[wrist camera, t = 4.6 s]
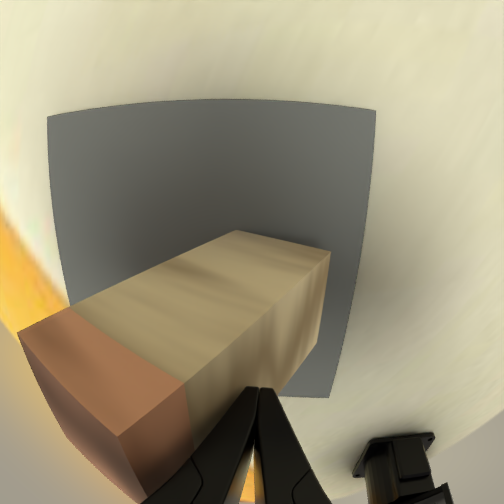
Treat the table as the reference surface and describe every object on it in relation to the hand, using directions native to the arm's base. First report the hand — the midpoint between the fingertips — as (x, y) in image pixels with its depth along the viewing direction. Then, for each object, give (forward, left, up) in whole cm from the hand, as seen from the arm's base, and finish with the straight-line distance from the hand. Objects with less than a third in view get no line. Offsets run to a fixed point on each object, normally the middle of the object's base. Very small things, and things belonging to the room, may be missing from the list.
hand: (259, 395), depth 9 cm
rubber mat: (0, +4, -9) cm, 10 cm away
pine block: (0, 0, -8) cm, 8 cm away
